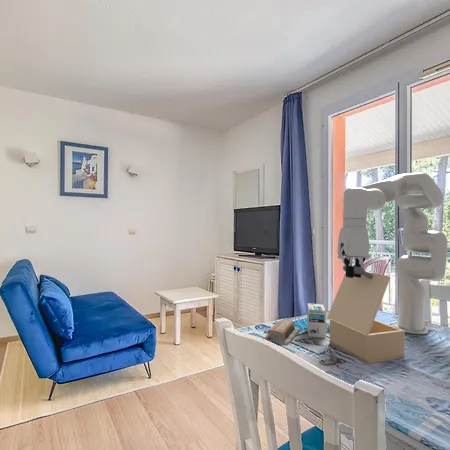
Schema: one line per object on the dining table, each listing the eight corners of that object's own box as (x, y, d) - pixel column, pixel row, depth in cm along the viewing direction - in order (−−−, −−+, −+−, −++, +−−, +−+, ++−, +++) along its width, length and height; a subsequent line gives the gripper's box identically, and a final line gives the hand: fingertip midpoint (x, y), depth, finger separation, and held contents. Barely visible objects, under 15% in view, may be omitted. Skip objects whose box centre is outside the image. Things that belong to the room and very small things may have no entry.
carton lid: (349, 269, 120) (334, 260, 118) (390, 277, 103) (374, 267, 100) (329, 318, 118) (313, 310, 115) (368, 335, 100) (350, 327, 97)
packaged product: (288, 333, 114) (262, 328, 119) (288, 346, 114) (262, 341, 119) (300, 320, 131) (277, 316, 135) (300, 331, 131) (277, 327, 135)
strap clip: (324, 366, 98) (324, 353, 98) (318, 362, 101) (318, 349, 101) (346, 363, 101) (347, 350, 101) (340, 359, 104) (340, 346, 104)
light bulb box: (326, 338, 122) (326, 310, 122) (308, 336, 124) (308, 309, 124) (323, 329, 133) (323, 303, 133) (306, 328, 134) (307, 302, 134)
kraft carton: (363, 338, 122) (364, 315, 122) (404, 357, 106) (404, 330, 106) (329, 343, 117) (330, 319, 117) (366, 363, 100) (367, 335, 100)
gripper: (364, 224, 116) (363, 274, 116) (328, 223, 110) (326, 276, 110) (381, 224, 108) (379, 278, 108) (343, 223, 103) (341, 279, 103)
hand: (353, 276), depth 109 cm, fingers closed on carton lid, 2 cm apart
